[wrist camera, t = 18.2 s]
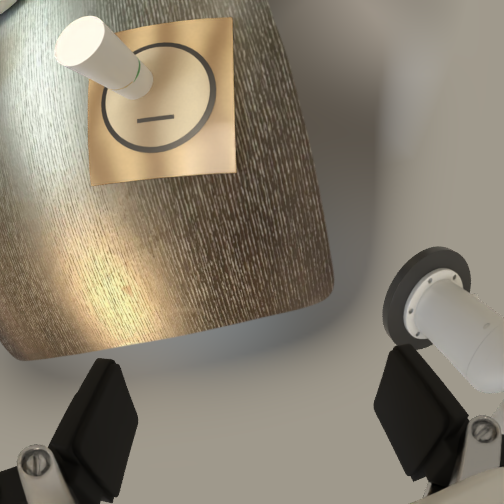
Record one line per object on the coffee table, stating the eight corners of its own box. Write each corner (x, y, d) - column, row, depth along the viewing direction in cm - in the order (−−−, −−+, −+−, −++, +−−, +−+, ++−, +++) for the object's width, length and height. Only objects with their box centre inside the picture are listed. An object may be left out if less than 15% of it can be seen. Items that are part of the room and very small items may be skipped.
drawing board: (232, 20, 28) (232, 15, 26) (236, 172, 34) (236, 173, 32) (95, 41, 26) (90, 37, 25) (94, 185, 33) (89, 186, 31)
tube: (133, 106, 29) (71, 76, 15) (112, 85, 28) (46, 49, 13) (160, 80, 28) (115, 32, 14) (138, 59, 27) (86, 7, 13)
